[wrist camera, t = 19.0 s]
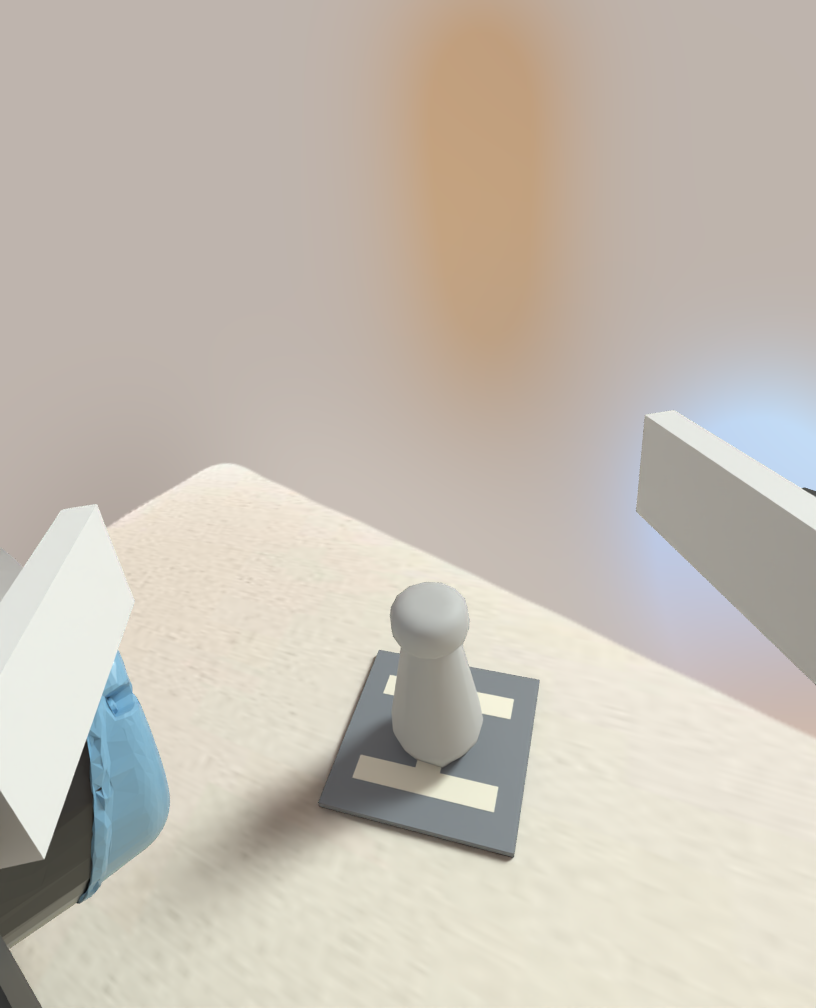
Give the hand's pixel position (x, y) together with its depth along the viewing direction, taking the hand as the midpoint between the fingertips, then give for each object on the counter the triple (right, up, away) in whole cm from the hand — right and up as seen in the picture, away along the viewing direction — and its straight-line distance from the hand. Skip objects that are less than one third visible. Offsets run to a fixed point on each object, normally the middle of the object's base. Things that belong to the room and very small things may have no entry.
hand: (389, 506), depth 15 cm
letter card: (+2, -16, +26) cm, 31 cm away
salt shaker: (+2, -16, +26) cm, 30 cm away
